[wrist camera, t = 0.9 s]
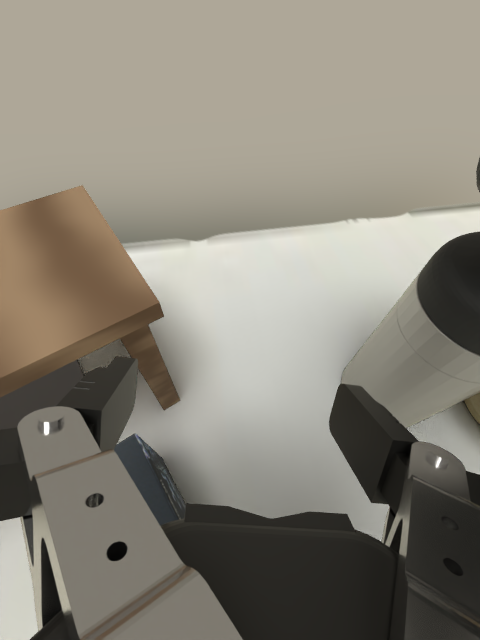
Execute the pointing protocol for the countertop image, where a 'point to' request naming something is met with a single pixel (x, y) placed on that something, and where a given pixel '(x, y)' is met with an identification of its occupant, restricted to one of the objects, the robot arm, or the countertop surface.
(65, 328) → the low shelf
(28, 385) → the charcoal mat
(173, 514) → the box
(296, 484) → the countertop surface
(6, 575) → the countertop surface
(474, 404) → the planter bowl
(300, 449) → the countertop surface
